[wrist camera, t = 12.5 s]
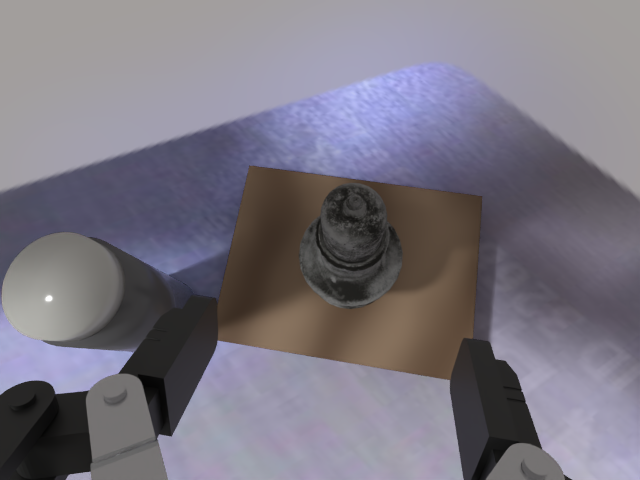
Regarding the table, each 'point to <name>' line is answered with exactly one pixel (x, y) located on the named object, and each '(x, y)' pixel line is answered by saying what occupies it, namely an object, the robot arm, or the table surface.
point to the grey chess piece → (351, 248)
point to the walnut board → (360, 323)
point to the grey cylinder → (86, 294)
